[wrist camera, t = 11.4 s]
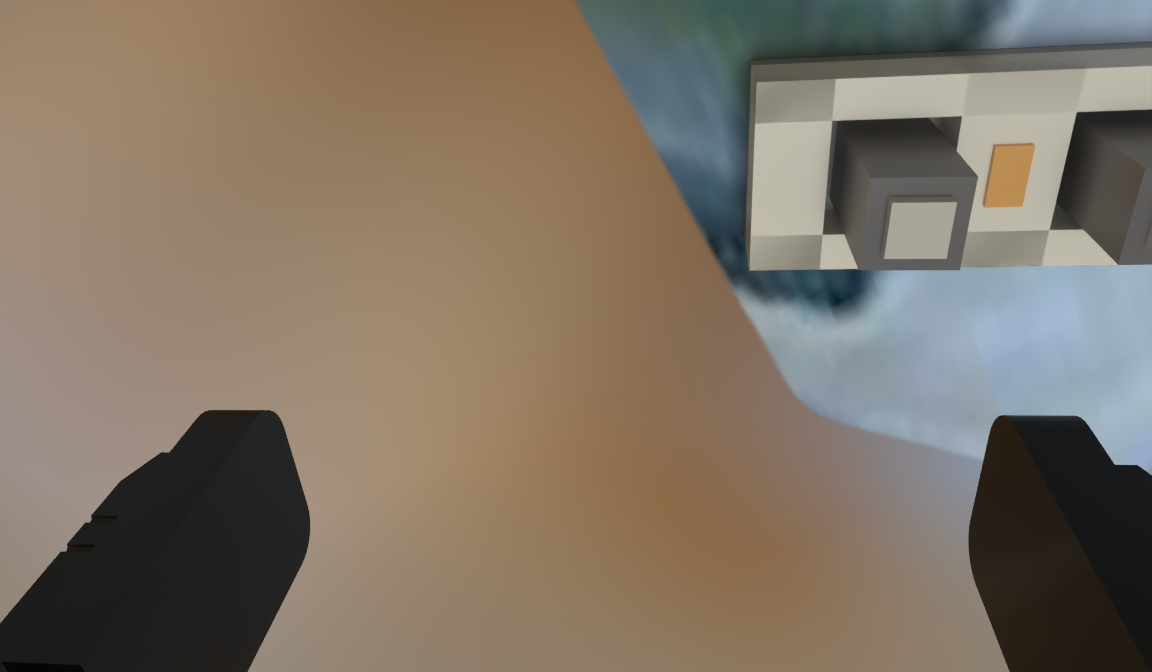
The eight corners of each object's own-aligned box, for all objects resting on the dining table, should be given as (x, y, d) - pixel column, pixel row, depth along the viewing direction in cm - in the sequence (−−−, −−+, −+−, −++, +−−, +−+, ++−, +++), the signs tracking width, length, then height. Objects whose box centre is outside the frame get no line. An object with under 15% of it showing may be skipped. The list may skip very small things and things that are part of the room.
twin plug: (1063, 107, 39) (1152, 174, 32) (1158, 103, 38) (1271, 171, 31) (1045, 190, 41) (1124, 271, 34) (1134, 188, 40) (1235, 270, 33)
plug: (837, 117, 40) (873, 183, 33) (926, 115, 40) (982, 182, 32) (829, 197, 42) (861, 276, 35) (913, 196, 42) (964, 276, 34)
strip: (744, 236, 45) (749, 273, 41) (749, 60, 40) (757, 84, 37) (1199, 227, 42) (1249, 265, 38) (1261, 37, 38) (1324, 60, 34)
